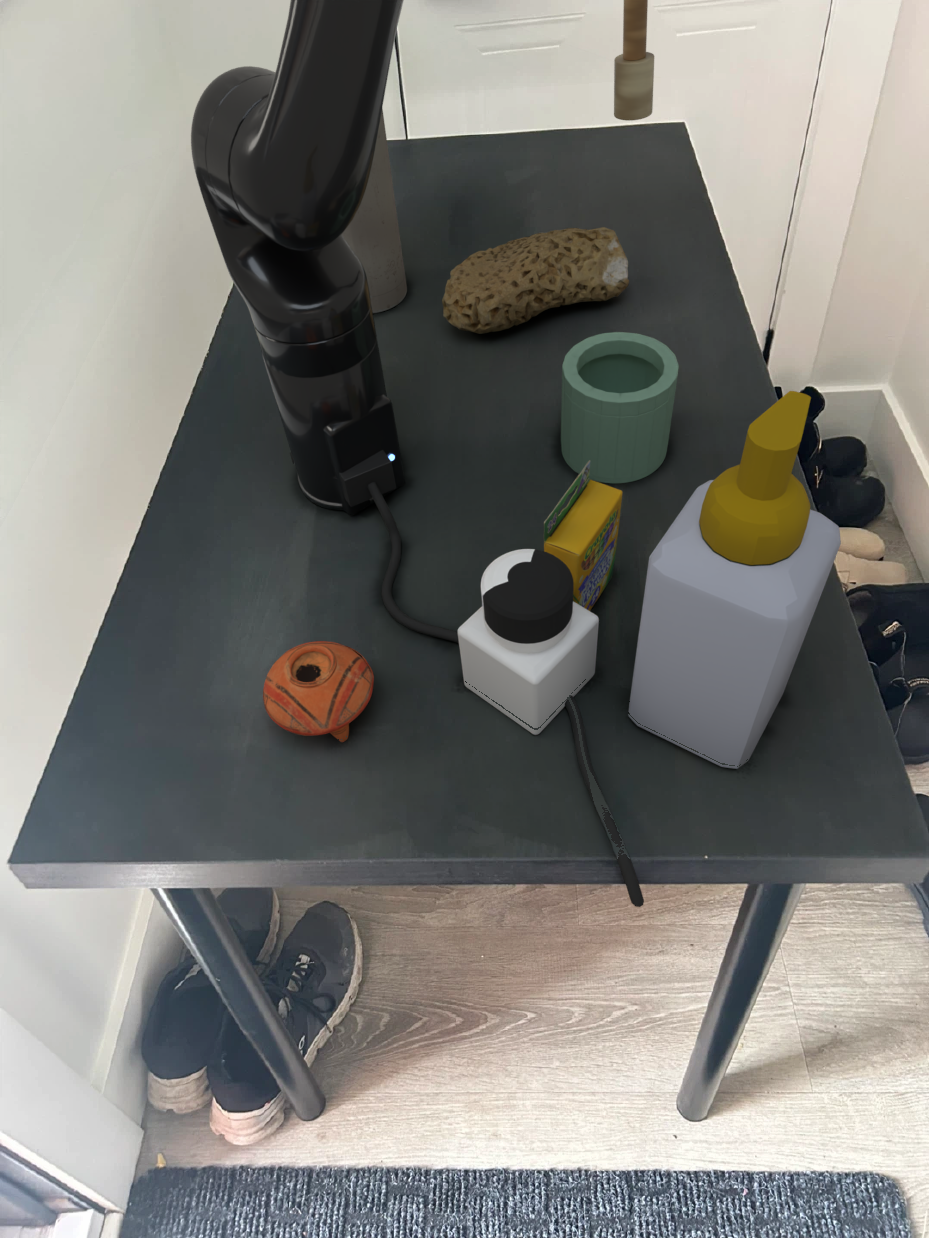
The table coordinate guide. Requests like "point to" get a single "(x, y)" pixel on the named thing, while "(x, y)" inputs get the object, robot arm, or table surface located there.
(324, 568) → the table surface
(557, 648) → the medicine bottle
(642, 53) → the wooden peg on base
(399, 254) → the thermos bottle
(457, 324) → the sponge
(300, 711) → the pot
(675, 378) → the jar
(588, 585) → the crayon box
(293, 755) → the table surface
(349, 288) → the robot arm
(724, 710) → the soap bottle
